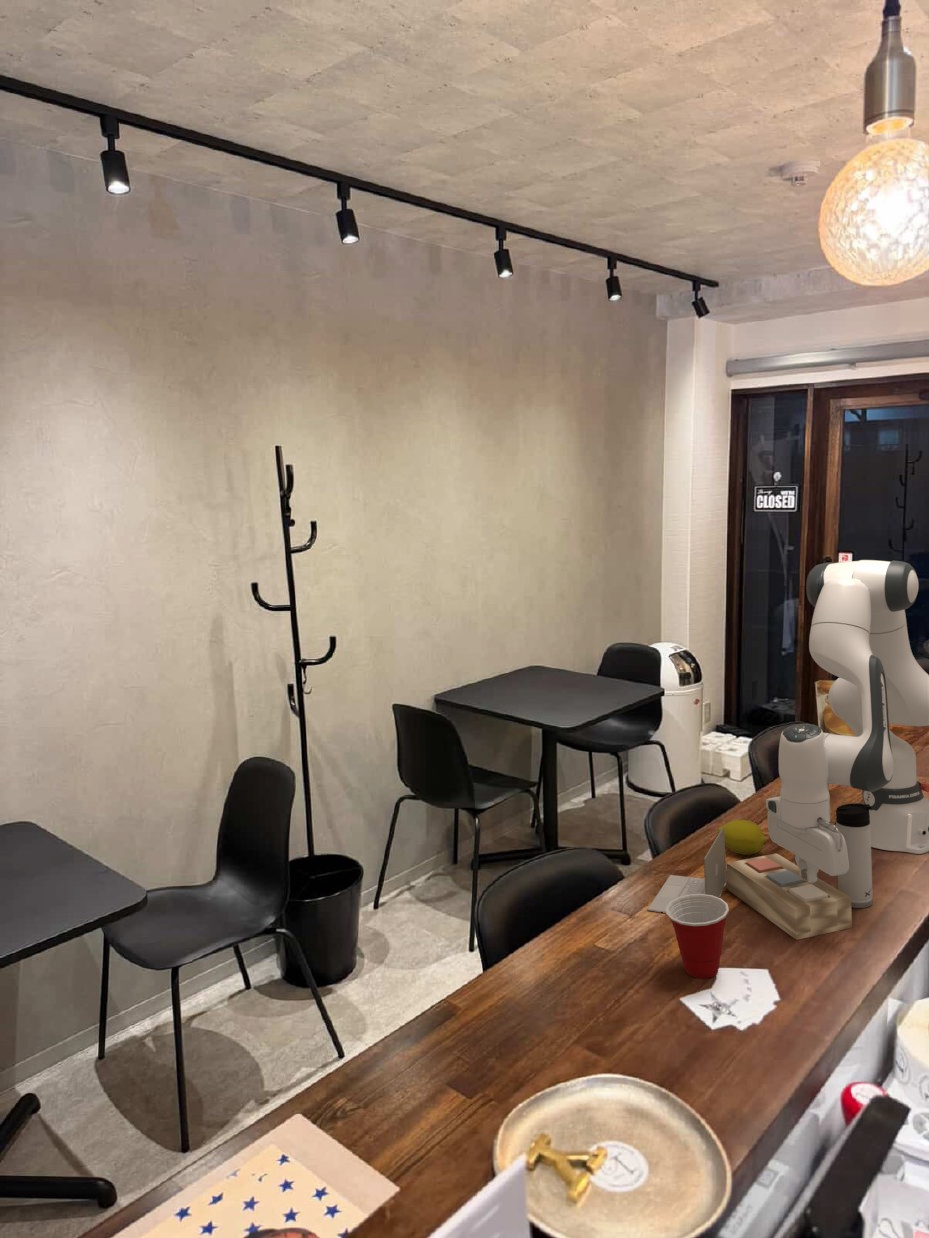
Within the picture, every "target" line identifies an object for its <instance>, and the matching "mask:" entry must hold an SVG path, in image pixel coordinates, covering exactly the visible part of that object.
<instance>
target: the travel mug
mask: <svg viewBox="0 0 929 1238" xmlns="http://www.w3.org/2000/svg"><path fill="white" fill-rule="evenodd" d="M869 810H872V808H871V806H870V805H869V804H865V805H864V803H858V802H857V803H856V802H855V803H854V802H853V803H845V804H842V805H840V806H837V807H836V810H835V817H836V818H835V823H836V824H835V825H836V826H837V827H838V830H839V831H840V833H841V834H842V835H843V837H844V839H845V842H846V847H847V853H848V861H849V870H848V871H847V873H845V874H842V875H837V889H838V890H839V891H841V892H843V893H844V894H846V895H848V896H849V897H851V908H852V907H853V908H852V909H866V908H869V907H870V906H872V905H873V903H874V902H873V901H874V900H873V869H872V868H873V867H872V847H871V831H870V815H869Z"/></svg>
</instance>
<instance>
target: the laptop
mask: <svg viewBox="0 0 929 1238" xmlns="http://www.w3.org/2000/svg"><path fill="white" fill-rule="evenodd" d="M726 860H727V858H726V845H725V840H724V827H723V828H722V829H721V831H720V833H719V834H717V836H716V837H715V840H714V841H713V843H712V844H711V846H710V848H709V849H708V851H707V852H706V854H705V856H704V857H703V869H704V878H699V877H691V876H683V875H677V874H675V875H674V874H669V876H668V878H667V879H666V881H665V882H664V884H663V885H662V887H661V888H660V890H658V893H657V894H656V896H655V897H654V899H653V900H652V902H651V904H650V905H649V906H648V908H647V911H650V912H657V913H661V912H663V914H666V907H667V905H668V904H669V902H671V901H672V900H674V899H676V898H678V897H681V896H685V895H691V894H705V895H713V896H715V897H718V898H719V897H720V898H721V896H722V894H723V892H722V891H724V890H725V887H726V886H727V883H728V881H727V862H726ZM721 893H722V894H721Z"/></svg>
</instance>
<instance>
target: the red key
mask: <svg viewBox="0 0 929 1238" xmlns="http://www.w3.org/2000/svg"><path fill="white" fill-rule="evenodd" d="M746 863H747V866H749V867H751V868H752V869H754V870H755V871H757V872H758V873H763V872H768V871H773V870H779V869H782V868H781V866H780V865H779V864H777V863H776V862H774V861H772V860H771V859H769V858H763V859H757V860H752V861H747V862H746Z"/></svg>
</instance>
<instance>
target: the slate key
mask: <svg viewBox="0 0 929 1238" xmlns="http://www.w3.org/2000/svg"><path fill="white" fill-rule="evenodd" d="M767 879H769V880H770V881H772V882H774V883H775V884H777V885H778V886H780V887H785V886H790V885H795V884H800V883H804V879H802V878H800V877H799V876H797V875H795V874H794V873H792V872H791V871H789V870H788V871H783V872H778V873H773V874H767Z"/></svg>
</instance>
